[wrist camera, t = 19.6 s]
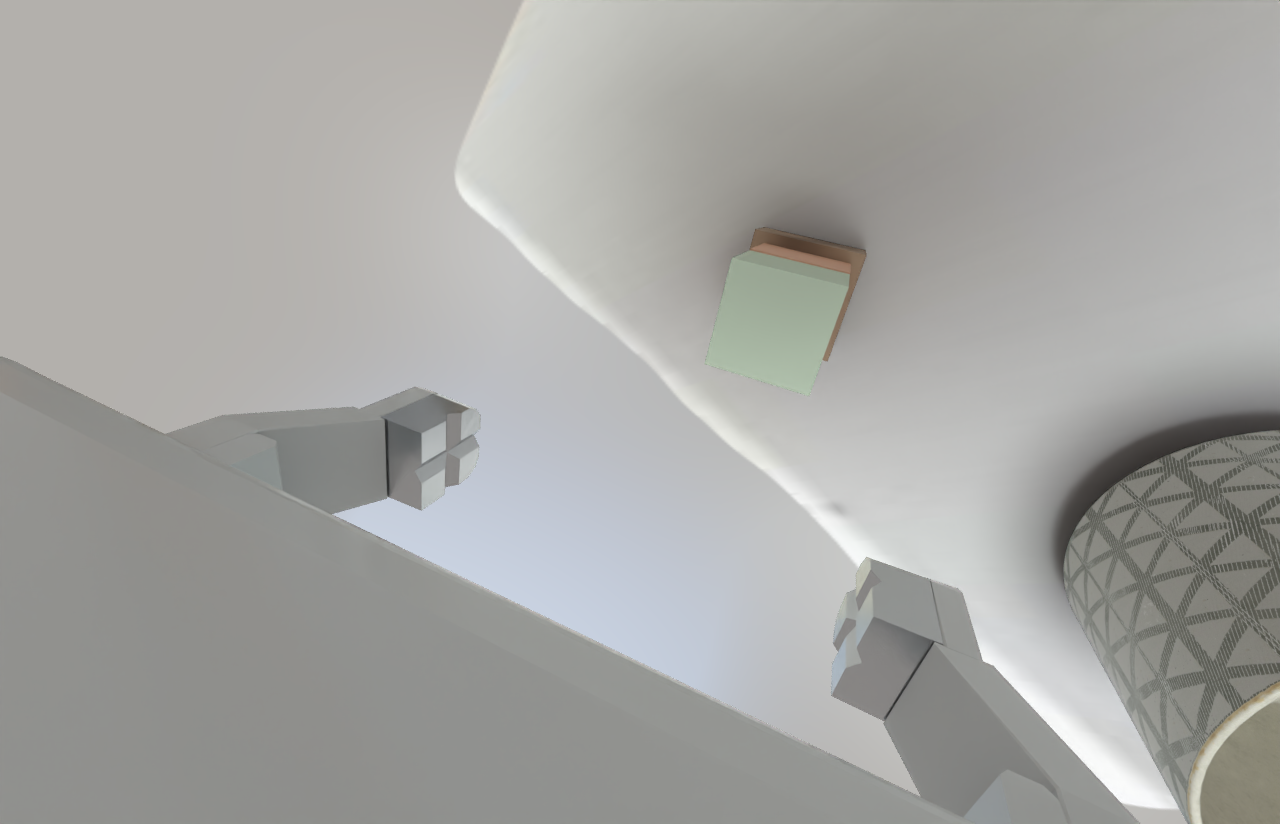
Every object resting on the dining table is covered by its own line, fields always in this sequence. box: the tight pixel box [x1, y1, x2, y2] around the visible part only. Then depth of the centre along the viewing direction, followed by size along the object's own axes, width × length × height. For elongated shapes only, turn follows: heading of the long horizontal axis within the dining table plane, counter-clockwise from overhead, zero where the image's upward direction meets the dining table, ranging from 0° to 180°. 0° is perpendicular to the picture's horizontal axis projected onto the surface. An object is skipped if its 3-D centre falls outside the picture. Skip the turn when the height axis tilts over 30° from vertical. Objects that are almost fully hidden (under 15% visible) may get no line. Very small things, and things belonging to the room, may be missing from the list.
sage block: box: [705, 250, 850, 396], centre depth 27 cm, size 6×6×5 cm
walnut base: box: [750, 227, 866, 361], centre depth 35 cm, size 7×7×4 cm
